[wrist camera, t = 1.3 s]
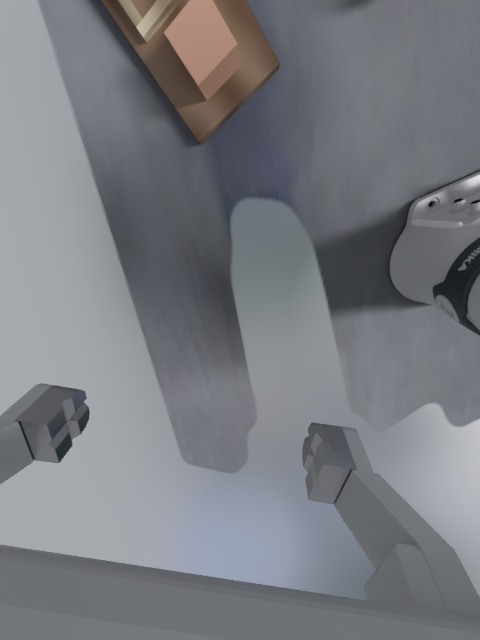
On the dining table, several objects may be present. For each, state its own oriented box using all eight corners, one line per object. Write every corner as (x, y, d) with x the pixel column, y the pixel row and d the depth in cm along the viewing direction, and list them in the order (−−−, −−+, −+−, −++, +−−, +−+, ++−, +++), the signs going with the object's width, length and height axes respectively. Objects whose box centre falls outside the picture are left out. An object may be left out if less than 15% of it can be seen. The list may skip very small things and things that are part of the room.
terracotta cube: (212, 16, 28) (203, -17, 23) (240, 65, 29) (237, 43, 25) (178, 56, 29) (163, 32, 25) (207, 100, 31) (198, 85, 26)
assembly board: (157, -157, 24) (146, -196, 22) (278, 68, 30) (280, 58, 28) (79, -34, 28) (62, -55, 25) (201, 144, 34) (196, 141, 32)
